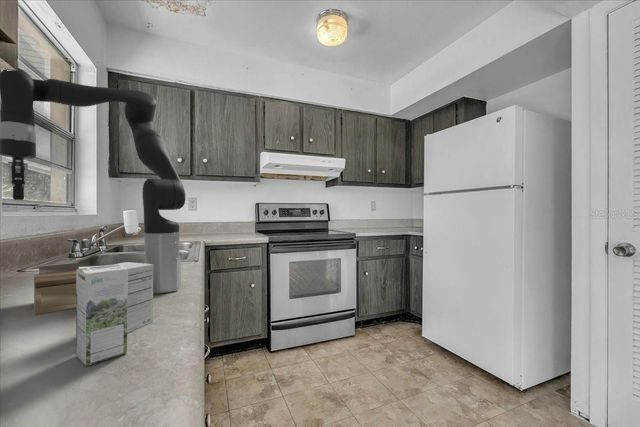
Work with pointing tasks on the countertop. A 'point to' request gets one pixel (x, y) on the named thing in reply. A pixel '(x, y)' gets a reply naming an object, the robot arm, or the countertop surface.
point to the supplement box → (139, 294)
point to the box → (54, 298)
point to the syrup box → (101, 313)
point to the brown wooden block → (56, 274)
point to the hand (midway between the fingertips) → (18, 199)
